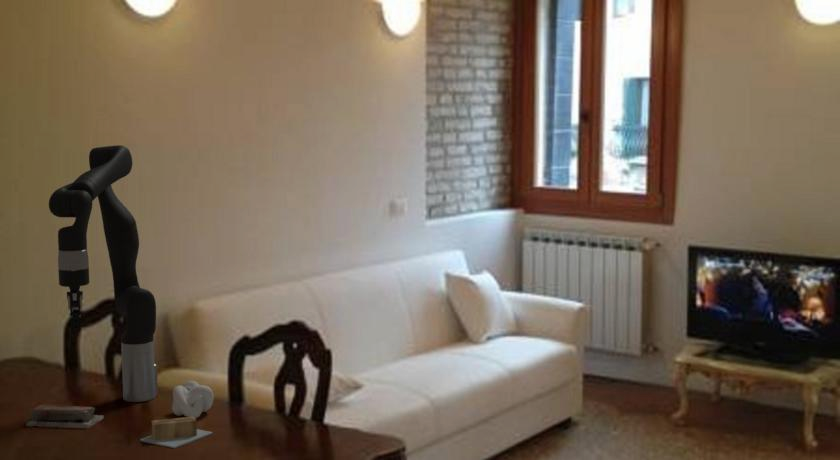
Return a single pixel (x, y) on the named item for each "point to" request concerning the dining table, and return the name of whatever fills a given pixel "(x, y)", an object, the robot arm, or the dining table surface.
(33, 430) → the dining table surface
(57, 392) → the dining table surface
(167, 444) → the felt mat
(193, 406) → the white decorative knot
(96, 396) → the dining table surface
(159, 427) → the oak block
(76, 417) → the packaged product
